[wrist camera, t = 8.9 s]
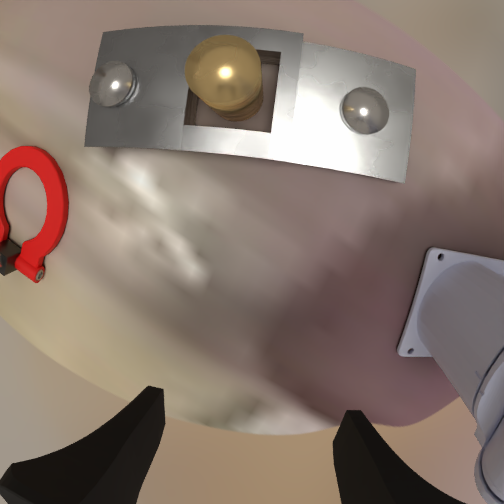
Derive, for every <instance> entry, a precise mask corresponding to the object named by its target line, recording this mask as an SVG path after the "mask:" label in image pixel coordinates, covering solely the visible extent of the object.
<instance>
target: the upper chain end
mask: <svg viewBox="0 0 504 504" xmlns="http://www.w3.org/2000/svg"><path fill="white" fill-rule="evenodd" d="M218 35H233V36H237V37H240V38H242V39H244V40H246V41H247V42H249V43H250V44H251V45H252V46H253V47H254V48H255V49H256V51H257V53H258V55H259V57H268V58H277V59H280V66H279V74H278V82H277V90H276V98H275V106H274V114H273V121H272V129H271V133H266V132H257V131H249V130H239V129H229V128H218V127H206V126H191V125H189V123H190V116H191V108H192V101H193V94H194V92H193V91H192V90H191V89H190V87H189V86H188V84H187V81H186V78H185V64H186V61H187V58H188V56H189V54H190V53H191V51H192V50H193V49H194V48H195V47H196V46H197V45H198V44H199V43H201V42H202V41H204V40H206V39H208V38H210V37H213V36H218ZM302 43H303V33H296V32H289V31H282V30H273V29H264V28H252V27H238V26H214V25H183V26H159V27H145V28H134V29H124V30H116V31H109V32H103V35H102V40H101V44H100V48H99V53H98V58H97V63H96V68H95V73H94V75H93V76H92V79H91V81H90V86H89V91H90V103H89V110H88V118H87V126H86V135H85V145H84V147H122V148H147V149H166V150H183V151H196V152H208V153H218V154H228V155H237V156H246V157H255V158H263V159H270V160H278V161H285V162H288V158H289V150H290V143H291V135H292V127H293V119H294V111H295V103H296V95H297V87H298V78H299V70H300V61H301V52H302Z"/></svg>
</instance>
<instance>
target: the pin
mask: <svg viewBox="0 0 504 504" xmlns="http://www.w3.org/2000/svg"><path fill="white" fill-rule="evenodd" d="M185 78H186V81H187V84H188V86H189V87H190V89H191V90H192V91H193V92H194V93H195V94H196V95H197V96H198V97H199V98H200V99H201V100H202V101H204V102H205V103H206V104H207V105H208V106H209V107H210V108H211V109H213V110H214V111H215V112H216V113H217V114H218V115H219V116H220V117H222V118H224V119H226V120H229V121H244V120H247V119H249V118H251V117H252V116H254V115H255V114H256V113H257V112H258V110H259V109H260V107H261V105H262V103H263V85H262V72H261V61H260V57H259V55H258V53H257V51H256V49H255V48H254V47H253V46H252V45H251V44H250V43H249V42H247V41H246V40H244V39H242V38H240V37H237V36H233V35H218V36H213V37H210V38H208V39H206V40H204V41H202V42H201V43H199V44H198V45H197V46H196V47H195V48H194V49H193V50H192V51H191V53H190V54H189V56H188V58H187V61H186V64H185Z"/></svg>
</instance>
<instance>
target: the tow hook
mask: <svg viewBox="0 0 504 504" xmlns="http://www.w3.org/2000/svg"><path fill="white" fill-rule="evenodd" d="M22 167H28V168H30V169H32V170H33V171H34V172H35V173H36V174H37V175H38V176H39V177H40V179H41V181H42V183H43V185H44V188H45V191H46V196H47V215H46V219H45V223H44V225H43V227H42V230H41V232H40V233H39V234H38V235H37V236H36V237H35V238H33V239H31V240H27V241H25V242H24V243H23V244H22V249H20V248H19V247H18V246H16V245H15V244H14V243H12V242H11V241H10V240H7V236H8V232H9V225H8V223H7V221H6V217H5V214H4V208H3V196H4V191H5V187H6V184H7V182H8V180H9V178H10V177H11V175H12V174H13V173H14V172H15V171H16V170H18V169H19V168H22ZM68 203H69V202H68V194H67V186H66V183H65V179H64V176H63V173H62V171H61V169H60V167H59V166H58V164H57V162H56V161H55V159H54V158H53V157H52V156H51V155H50V154H49V153H47V152H46V151H45V150H42V149H40V148H38V147H33V146H20V147H17V148H15V149H12V150H11V151H9V152H8V153H7V154H6V155H4V156H3V157H2V159H1V160H0V273H1V274H2V275H3V276H5V275H7V274H9V273H11V272H13V271H15V270H19V271H20V272H21V273H23V274H24V275H25V276H27V277H28V278H29V279H31V280H32V281H33V282H35V283H38V282H39V281H40V280H41V279H42V277H43V275H44V272H45V268H44V267H43V266H42V263H43V259H44V256H45V255H47V254H49V253H50V252H51V251H52V250H53V249H54V248H55V247H56V246H57V244H58V242H59V241H60V239H61V237H62V235H63V233H64V229H65V225H66V222H67V217H68Z"/></svg>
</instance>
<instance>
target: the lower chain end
mask: <svg viewBox="0 0 504 504" xmlns="http://www.w3.org/2000/svg"><path fill="white" fill-rule="evenodd" d="M260 61H261V63H266V64H274V65H280V59H277V58H268V57H260ZM415 77H416V69H413V68H410V67H407V66H404V65H401V64H398V63H395V62H391V61H388V60H384V59H381V58H377V57H373V56H370V55H366V54H362V53H358V52H353V51H349V50H345V49H340V48H335V47H330V46H325V45H320V44H314V43H308V42H303V43H302V52H301V61H300V70H299V78H298V87H297V95H296V103H295V111H294V119H293V127H292V135H291V143H290V150H289V158H288V162H291V163H297V164H304V165H310V166H316V167H322V168H328V169H334V170H340V171H345V172H350V173H356V174H361V175H366V176H371V177H376V178H380V179H385V180H390V181H394V182H399V183H404V184H405V178H406V171H407V164H408V156H409V149H410V140H411V131H412V121H413V109H414V95H415ZM197 103H198V96H197V95H196V94H195V93H194V94H193V101H192V108H191V116H190V123H189V125H191V126H195V118H196V110H197ZM181 151H183V150H181ZM194 152H196V151H194ZM206 153H208V152H206ZM216 154H218V153H216ZM226 155H228V154H226ZM236 156H237V155H236ZM245 157H246V156H245ZM253 158H255V157H253ZM261 159H263V158H261ZM269 160H270V159H269ZM277 161H278V160H277ZM284 162H285V161H284Z"/></svg>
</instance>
